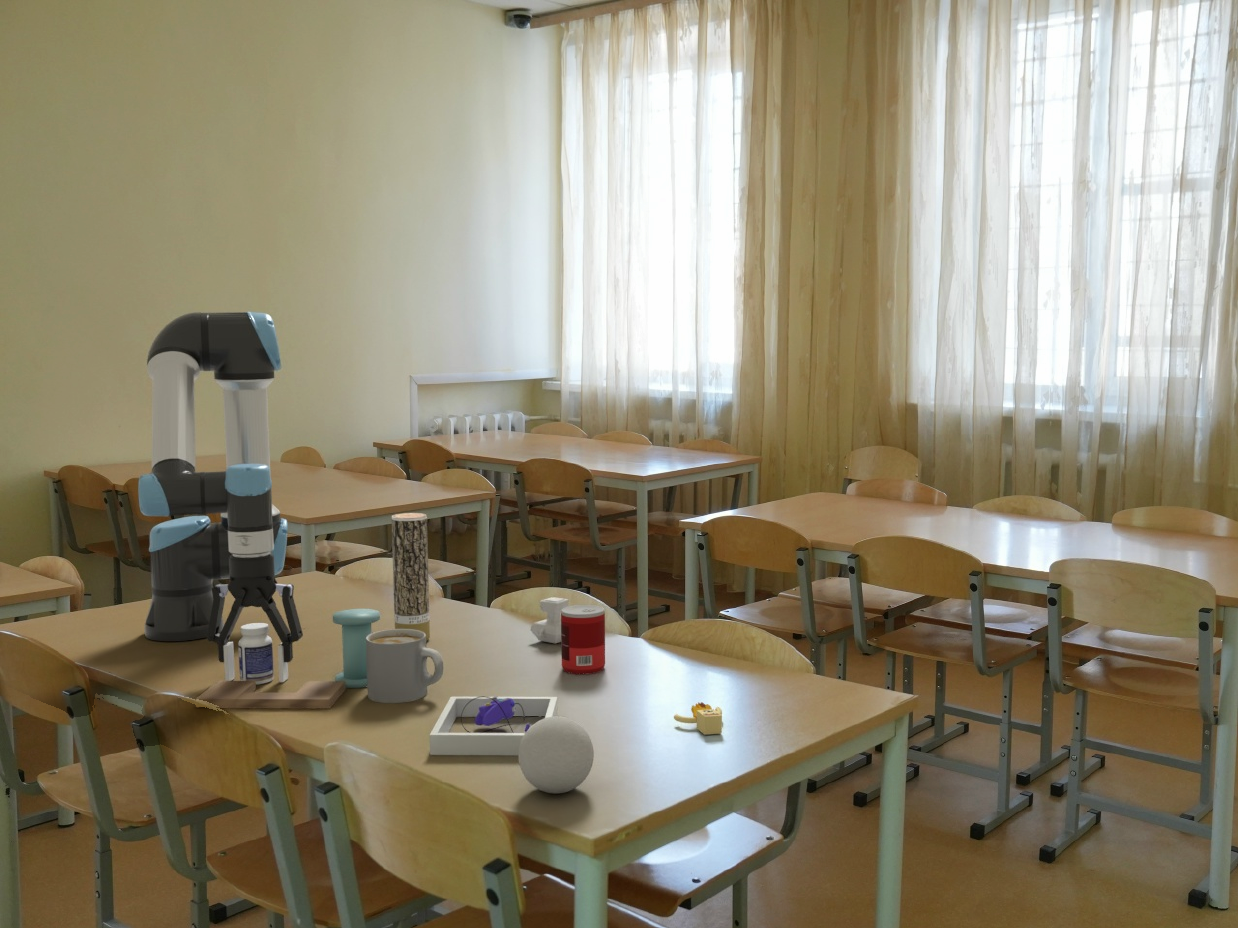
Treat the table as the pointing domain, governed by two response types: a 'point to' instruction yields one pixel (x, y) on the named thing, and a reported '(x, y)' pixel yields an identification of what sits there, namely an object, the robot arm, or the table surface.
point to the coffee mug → (399, 665)
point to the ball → (556, 754)
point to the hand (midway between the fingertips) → (256, 679)
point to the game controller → (496, 712)
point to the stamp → (550, 620)
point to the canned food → (583, 639)
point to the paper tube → (410, 572)
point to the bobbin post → (355, 644)
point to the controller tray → (484, 742)
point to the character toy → (704, 718)
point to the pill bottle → (255, 654)
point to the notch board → (273, 695)
